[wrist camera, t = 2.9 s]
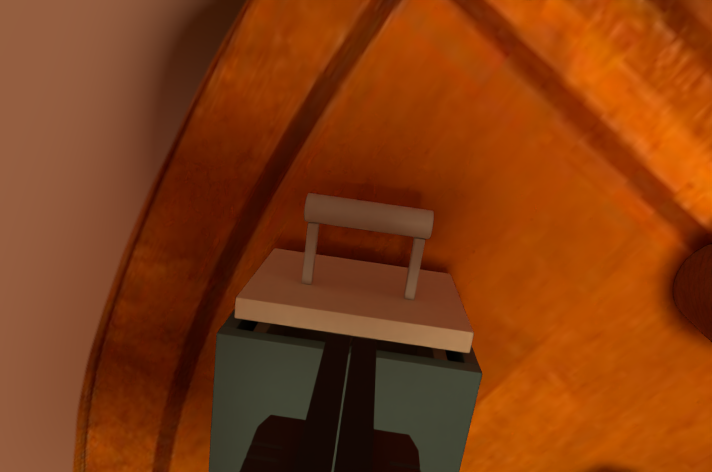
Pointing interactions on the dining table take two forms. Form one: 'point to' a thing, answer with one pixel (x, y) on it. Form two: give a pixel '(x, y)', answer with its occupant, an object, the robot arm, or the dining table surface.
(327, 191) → the dining table surface
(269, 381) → the cabinet
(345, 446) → the robot arm
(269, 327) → the drawer
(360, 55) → the dining table surface
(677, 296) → the disposable coffee cup
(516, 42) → the dining table surface
